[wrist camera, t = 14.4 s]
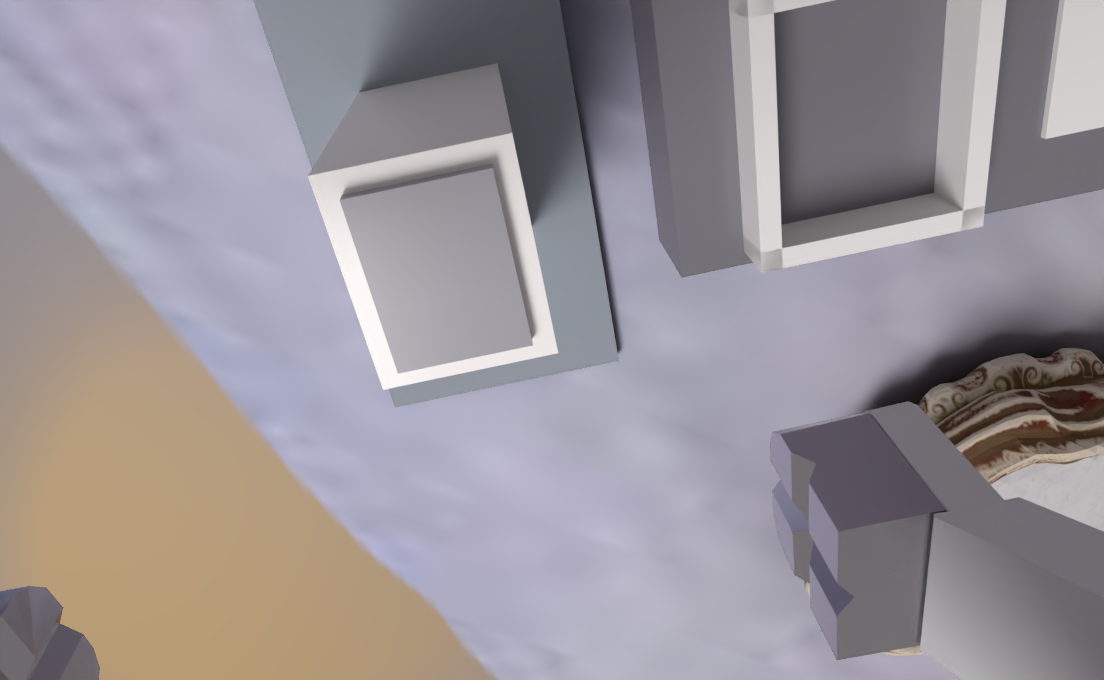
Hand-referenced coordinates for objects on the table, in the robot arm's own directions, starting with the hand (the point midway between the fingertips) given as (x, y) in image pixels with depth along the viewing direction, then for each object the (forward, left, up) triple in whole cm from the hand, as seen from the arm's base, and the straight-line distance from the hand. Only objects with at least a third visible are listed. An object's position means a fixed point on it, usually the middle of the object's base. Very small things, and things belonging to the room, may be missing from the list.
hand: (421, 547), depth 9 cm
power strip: (0, +15, -17) cm, 22 cm away
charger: (0, 0, -16) cm, 16 cm away
